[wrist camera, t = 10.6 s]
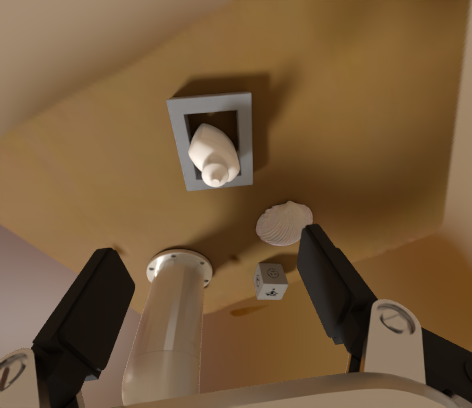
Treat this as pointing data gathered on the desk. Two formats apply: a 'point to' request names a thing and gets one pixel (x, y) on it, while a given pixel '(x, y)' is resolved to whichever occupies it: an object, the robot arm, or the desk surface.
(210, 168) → the eye dropper bottle
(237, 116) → the bottle holder
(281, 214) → the seashell
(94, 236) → the desk surface
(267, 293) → the dice cube
